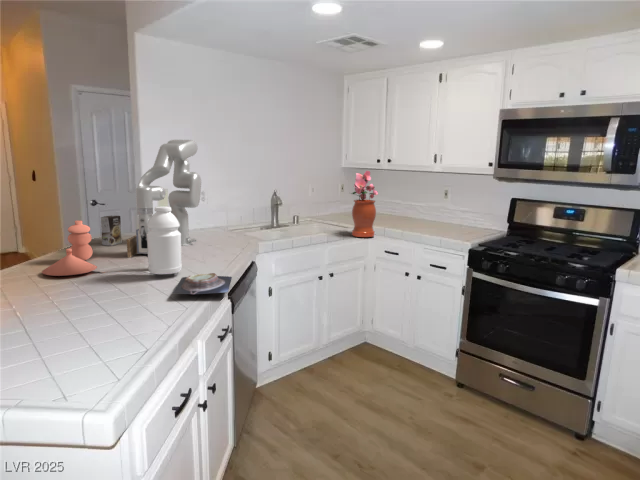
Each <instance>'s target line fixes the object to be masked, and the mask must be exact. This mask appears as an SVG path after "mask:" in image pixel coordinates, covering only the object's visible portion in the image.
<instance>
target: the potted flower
mask: <svg viewBox="0 0 640 480" xmlns="http://www.w3.org/2000/svg"><path fill="white" fill-rule="evenodd" d="M355 175H356V177H355V182H354V184H353V187H354V191H353V192H349V194H351V195H356V196H357V197H359V199H353V202H354V204H353V207H352V209H351V215H352V220H353V229H352V230H351V236H352V237H359V238H373V237H375V232H376V231H375V230H374V227H373V226H374V222H375V220H376V217H377V209H376V205H375V203H376V200H374V197H375V196H377V195H379V193H378V191H377V190H376V189H375V186H374V184H373V183H370V184H369V185H368V183H369V182H370V181H371V180H372V177H371V171H369V170H365V172H364V173H363V174H361V173H359V172H358V173H357V172H356V173H355ZM367 191H369V199H367V194H368V192H367ZM371 191H372V192H371ZM357 194H358V195H357Z"/></svg>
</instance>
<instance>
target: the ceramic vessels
mask: <svg viewBox="0 0 640 480" xmlns="http://www.w3.org/2000/svg"><path fill="white" fill-rule="evenodd" d="M90 231H91V227H90V226H88V225H86V224H83V220H74V224H72V225H71V226H69V227H68V228H67V232H68V233H69V234H68V236H67V241H68V243H69V244H70V245H71V246H70V247H69V248H66V249H65V253H66V255H65V256H64V257H62V258H60V259H59V260H57V261H56V262H54V263H52V264H51V265H49V266H48V267H46V268H44V269H43V270H41V274H43V275H45V276H46V275H47V276H55V277H56V276H58V277H60V276H61V277H62V276H73V275H74V276H75V275H83V274H86V273H90V272H94V271H95V270H96V269H97V268H98V266H97V265H95V264H94V263H93V264H92V263H90V262H88V260H89V259H90V258H91V257H92V256H93V252H94V251H93V248H92V246H91V245H90V244H89V243H90V242H91V241H92V240H93V239H92V238H93V237H92V234H91V233H89V232H90Z"/></svg>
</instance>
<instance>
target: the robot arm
mask: <svg viewBox="0 0 640 480" xmlns="http://www.w3.org/2000/svg"><path fill="white" fill-rule="evenodd" d="M197 152H198V144H197V142H196V141H195V140H193V139H171V140H169V141H167V142H166V143H163V144H161V145H160V147H159V149H158V152H157V155H156V157H155V161H154V163H153V166H152V167H151V168H149V169H148V170H147V171H146V172H145V173H144V174H143V175H142V176H141V177H140V179H139V181H138V184H137V187H135V199H136V200H135V201H136V202H135V203H136V215H137V216H138V229H139V234H140V236H141V248H147V234H148V233H149V231H150V229H149V228H148V227H147V225H148V222H149V220H150V218H151V217H152V216H153V215H154V203H153V201H162V200H164V199H165V198H166V196H167V195H166V194H167V193H166V189H165V188H164V187H162V186H159V185H151V184H152V183H153V182H154V181H156V180H158V179H160V178H163V177H164V176H167V175H169V173H170V172H171V169H172V165H173V174H172V184H173V186H174V187H175V188H177V189H184V190H173V191H171V192H169V194H168V197H167V199H168V200H167V201H168V204H169V207H171V209H172V211H170V212H171V213H172V214H173V215H174V216H175V217H176V218H177V220H178V222H179V224H180V226H179V227H178V231H179V232H180V233H181V247H188V246H192V244H193V243H197V241H198V240H197V238H191V236H190V231H189V230H190V229H189V228H190V227H189V214H188V211H187V210H186V208H187V209H190V208H191V209H195V208H197V207H198V206H199V205H200V200H201V191H202V178H201V175H200V173H198V172H196V171H195V172H194V171H190V169H191V168H190V167H191V166H190V165H191V163H190V161H189V159H188V158H191V157H193V156H195V155H196V153H197ZM185 189H188V190H185ZM144 233H146V234H144ZM145 236H146V237H145Z"/></svg>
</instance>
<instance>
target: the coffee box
mask: <svg viewBox="0 0 640 480" xmlns="http://www.w3.org/2000/svg"><path fill="white" fill-rule="evenodd" d="M121 222H122V221H121V215H106V216H101V217H100V223H101V224H100V228H101V229H100V230H101V232H100V233H101V245H102V246H116V245H119V244H122V242H123V241H122V225H121V224H122V223H121Z"/></svg>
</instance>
